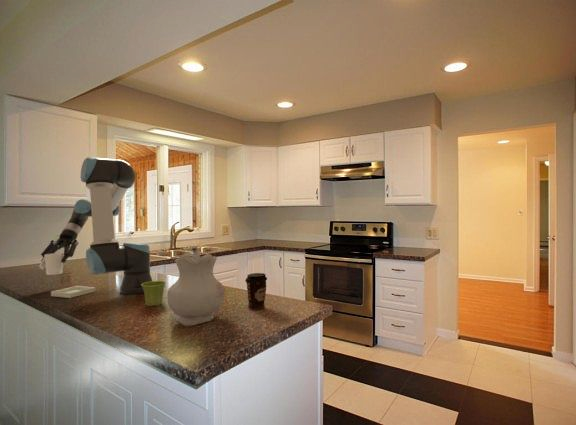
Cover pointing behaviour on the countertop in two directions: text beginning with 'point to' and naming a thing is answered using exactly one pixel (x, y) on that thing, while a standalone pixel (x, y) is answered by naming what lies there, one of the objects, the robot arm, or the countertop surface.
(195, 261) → the ceramic pitcher
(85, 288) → the coaster tray
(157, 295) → the plant pot
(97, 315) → the countertop surface
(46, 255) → the white cup
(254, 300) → the coffee cup
